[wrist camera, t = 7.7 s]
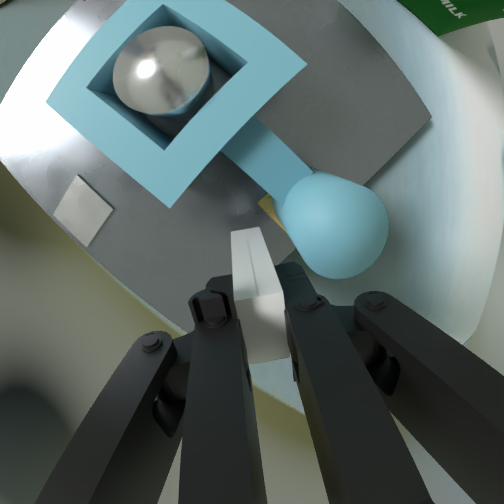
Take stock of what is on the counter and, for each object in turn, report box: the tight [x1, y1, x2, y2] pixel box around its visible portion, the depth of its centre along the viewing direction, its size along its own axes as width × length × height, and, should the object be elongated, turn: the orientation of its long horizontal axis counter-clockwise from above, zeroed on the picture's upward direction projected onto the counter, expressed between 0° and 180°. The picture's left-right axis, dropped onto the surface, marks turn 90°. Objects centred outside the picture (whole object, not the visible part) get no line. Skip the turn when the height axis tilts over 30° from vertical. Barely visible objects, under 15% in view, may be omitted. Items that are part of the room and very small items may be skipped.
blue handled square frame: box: [45, 0, 389, 279], centre depth 11 cm, size 8×15×6 cm, turn 47°
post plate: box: [0, 0, 432, 333], centre depth 11 cm, size 22×22×6 cm
